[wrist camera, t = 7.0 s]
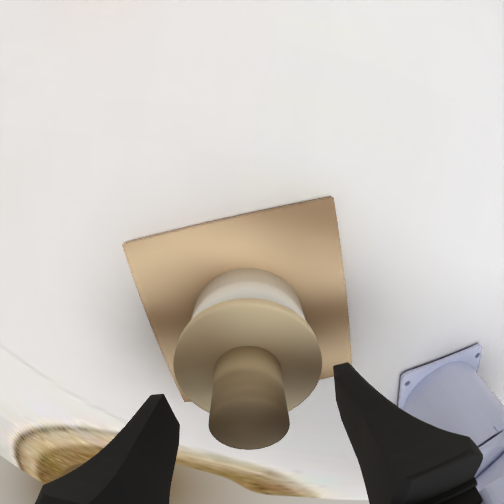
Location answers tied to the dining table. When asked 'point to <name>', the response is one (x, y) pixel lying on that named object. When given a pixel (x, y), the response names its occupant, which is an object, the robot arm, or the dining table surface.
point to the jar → (248, 289)
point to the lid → (247, 369)
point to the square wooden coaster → (248, 256)
